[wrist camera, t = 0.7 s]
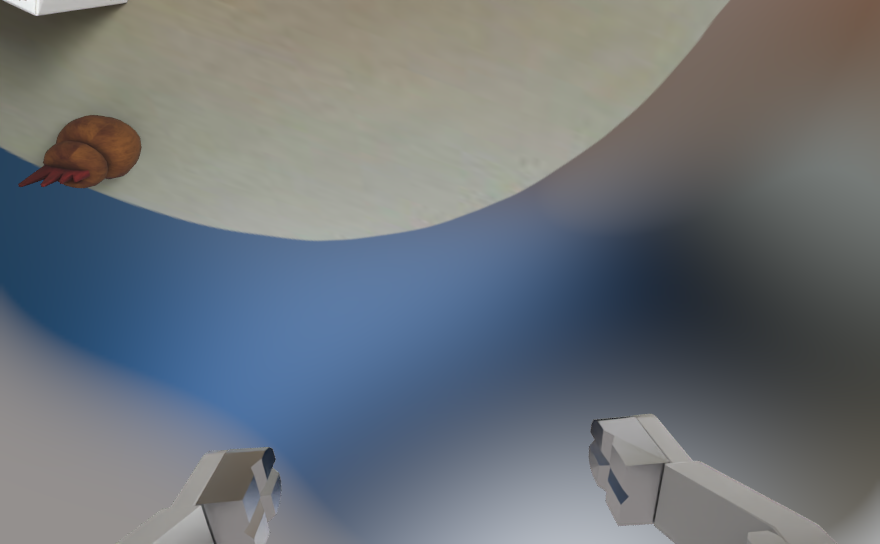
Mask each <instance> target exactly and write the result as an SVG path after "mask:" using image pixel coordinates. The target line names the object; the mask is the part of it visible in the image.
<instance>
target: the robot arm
mask: <svg viewBox="0 0 880 544" xmlns="http://www.w3.org/2000/svg"><path fill="white" fill-rule="evenodd" d="M591 434H592V436H593V438H594V441H593V442H592V444H591V445H590V446H589V463H590V468H591V471H592V474H593V477H594V479H595V481H596V483H597V485H598V486H599V487H600V488H602V489H603V490H604V491H606V503H607V505H608V507H609V509H610V511H611V513H612V515H613V517H614V519H615V521H616V523H617V525H618V526H626V525H642V524H654V526H655V527H656V528H657V529H659V530H660V531H661V532H662V533H663V534H664V535H666V536H667V537H668V538H669V539H670V540H672V541H673V542H674V543H675V544H837V543H836V542H835V541H834V540H833V539H832V538H831V537H830V536H829V535H828V534H827V533H826V532H825V531H824V530H823V529H822V528H821V527H820V526H819V525H818V524H817V523H815V522H813V521H811V520H809V519H807V518H805V517H804V516H802V515H800V514H798V513H796V512H794V511H792V510H790V509H788V508H786V507H785V506H783V505H781V504H779V503H777V502H775V501H774V500H772V499H770V498H768V497H766V496H764V495H762V494H760V493H758V492H757V491H755V490H753V489H751V488H749V487H747V486H746V485H744V484H742V483H740V482H738V481H736V480H734V479H732V478H730V477H728V476H727V475H725V474H723V473H721V472H719V471H717V470H716V469H714V468H712V467H710V466H708V465H706V464H704V463H702V462H701V461H693V460H692V459H691V458H690V457H689V456H688V454H687V453H686V452H685V451H684V450H683V448H682V447H681V446H680V445H679V444H678V442H677V441H676V440H675V439H674V438H673V436H672V435H671V434H670V433H669V432H668V430H667V429H666V428H665V427H664V426H663V424H662V423H661V422H660V421H659V420H658V419H657V417H656V416H654V415H653V414H644V415H634V416H627V417H616V418H606V419H595V420H593V422H592V424H591ZM275 460H276V459H275V455H274V452H273V449H272V448H270V447H263V448H247V449H230V450H221V451H209V452H208V453H206V454H204V456H203V457H202V458H201V460H200V461H199V463H198V465H197V466H196V468H195V469H194V471H193V472H192V474H191V475H190V477H189V479H188V480H187V482H186V483H185V485H184V486H183V488H182V490H181V491H180V493H179V495H178V496H177V497H176V499H175V501H174V502H173V504H172V505H171V507H170V508H165V509H162V510H161V511H160V512H158V513H157V514H155V515H154V516H152V517H151V518H150V519H148V520H147V521H146V522H144V523H143V524H142V525H140V526H139V527H138V528H136V529H135V530H133V531H132V532H131V533H129V534H128V535H126V536H125V537H124V538H122V539H121V540H120V541H118V542H117V543H116V544H266V542H267V539H268V536H269V533H270V531H269V527H268V522H269V521H270V520H271V519H272V518H273V517H274V516H275V515H276V513H277V510H278V507H279V504H280V497H281V479H280V475H279V473H278V472H277V471H276V470H275V469H273V468H272V467H273V464H274V462H275Z"/></svg>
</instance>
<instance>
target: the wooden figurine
mask: <svg viewBox="0 0 880 544" xmlns="http://www.w3.org/2000/svg"><path fill="white" fill-rule="evenodd" d="M140 152H141V141H140V137H139V136H138V134H137V132H136V131H135V130H134V129H133V128H131V127H130V126H129V125H127V124H126V123H124V122H122V121H120V120H118V119H115V118H111V117H104V116H99V115H89V116H84V117H81V118H78V119H75V120H73V121H71V122H70V123H68V124H67V125H66V126H65V127H64V128H63V129H62V131H61V132H60V133H59V135H58V137H57V141H56V144H55V145H53V146H52V147H51V148H50V149H49V150H48V151H47V152H46V154H45V156H44V161H43V163H44V165H45V166H43V167H42V168H40V169H39V170H37V171H36V172H34V173H33V174H32V175H30V176H29V177H28V178H26V179H25V180H24V181H22V182H21V183H19V187H23V186H26V185H29V184H32V183H35V182H38V181H41V180H44V179H45V180H44V181H43V182H42V183H41V186H42V187H44V186H47V185H49V184H52V183H54V182H56V181H58V182H60V184H64V185H66V186H70V187H75V188H87V187H91V186H95V185H97V184H98V183H100V182H101V181H102V180H103V179H105V178H106V179H112V178H116V177H121V176H124V175H125V174H126V173H128V172H129V171H130V169H131V168H132V167H133V166H134V165H135V164H136V162H137V160H138V159H139V156H140Z"/></svg>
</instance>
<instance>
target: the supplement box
mask: <svg viewBox="0 0 880 544" xmlns="http://www.w3.org/2000/svg"><path fill="white" fill-rule="evenodd" d="M3 1H5V2H7V3H9V4H11V5H13V6H15V7H18V8H20V9H22V10H24V11H26V12H28V13H30V14H32V15H35V16H39V15H46V14H53V13H60V12H66V11H73V10H80V9H87V8H94V7H101V6H108V5H114V4H121V3H127V0H3Z"/></svg>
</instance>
